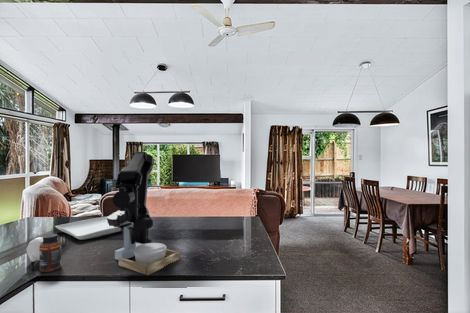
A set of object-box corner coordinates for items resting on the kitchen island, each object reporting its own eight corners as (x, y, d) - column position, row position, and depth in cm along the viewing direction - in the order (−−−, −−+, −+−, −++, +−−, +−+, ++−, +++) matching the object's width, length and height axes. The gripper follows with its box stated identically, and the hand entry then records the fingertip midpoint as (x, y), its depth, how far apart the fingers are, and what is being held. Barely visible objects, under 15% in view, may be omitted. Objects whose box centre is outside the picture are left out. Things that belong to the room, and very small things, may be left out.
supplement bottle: (65, 265, 90) (65, 232, 90) (53, 272, 84) (53, 238, 84) (47, 265, 90) (47, 232, 90) (34, 273, 84) (34, 238, 84)
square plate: (77, 244, 112) (77, 235, 112) (54, 232, 129) (54, 225, 129) (134, 230, 134) (134, 222, 134) (108, 221, 150) (108, 215, 150)
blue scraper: (114, 259, 95) (114, 229, 95) (136, 249, 104) (136, 222, 104) (122, 261, 93) (121, 230, 93) (143, 251, 102) (143, 223, 102)
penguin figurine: (24, 239, 91) (49, 232, 103) (23, 264, 90) (48, 254, 102) (42, 239, 91) (65, 232, 103) (41, 264, 90) (64, 254, 102)
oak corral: (151, 251, 103) (151, 245, 103) (179, 258, 96) (179, 252, 96) (118, 265, 90) (118, 258, 90) (148, 275, 83) (148, 267, 83)
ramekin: (156, 270, 86) (156, 255, 86) (126, 267, 89) (126, 252, 89) (171, 257, 97) (171, 243, 97) (145, 255, 100) (145, 241, 100)
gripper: (94, 203, 96) (94, 245, 96) (128, 209, 87) (129, 255, 87) (120, 198, 105) (120, 237, 106) (153, 203, 97) (154, 245, 97)
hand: (129, 243), depth 99 cm, fingers closed on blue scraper, 3 cm apart
